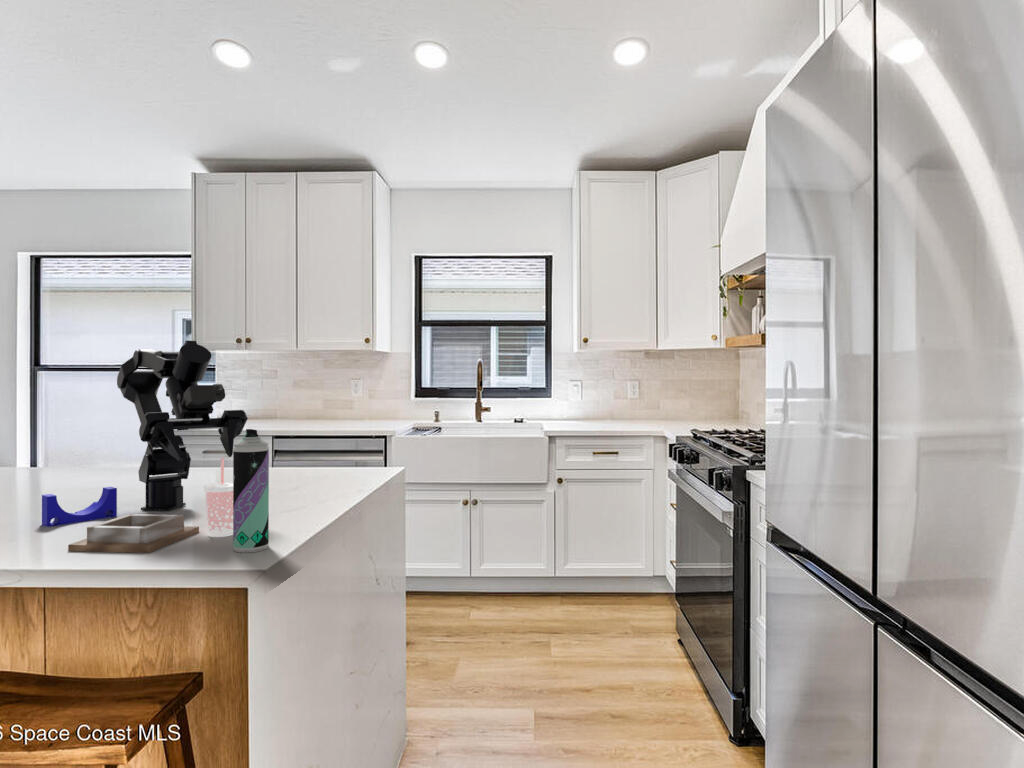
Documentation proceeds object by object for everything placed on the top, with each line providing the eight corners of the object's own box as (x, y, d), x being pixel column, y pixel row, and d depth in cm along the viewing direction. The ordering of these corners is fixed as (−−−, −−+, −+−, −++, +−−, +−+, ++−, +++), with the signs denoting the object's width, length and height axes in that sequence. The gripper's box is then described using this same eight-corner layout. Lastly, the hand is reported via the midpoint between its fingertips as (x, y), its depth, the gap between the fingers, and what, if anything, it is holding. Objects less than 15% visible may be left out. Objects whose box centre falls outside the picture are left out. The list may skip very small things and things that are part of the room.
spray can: (225, 551, 102) (225, 429, 102) (248, 542, 107) (249, 427, 107) (253, 553, 100) (253, 430, 100) (275, 545, 106) (275, 428, 106)
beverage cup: (245, 534, 113) (245, 457, 113) (209, 539, 109) (210, 460, 109) (233, 528, 118) (233, 454, 118) (198, 533, 114) (199, 457, 113)
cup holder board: (68, 550, 102) (68, 529, 102) (126, 530, 116) (126, 511, 116) (149, 552, 101) (149, 531, 101) (199, 531, 115) (199, 513, 115)
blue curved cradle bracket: (108, 514, 131) (108, 485, 131) (116, 517, 128) (116, 488, 128) (39, 524, 121) (39, 494, 121) (47, 528, 118) (47, 496, 118)
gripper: (144, 369, 116) (163, 433, 108) (244, 371, 129) (267, 427, 122) (131, 409, 121) (148, 472, 114) (228, 407, 135) (249, 463, 127)
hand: (206, 457), depth 119 cm, fingers open, 9 cm apart
